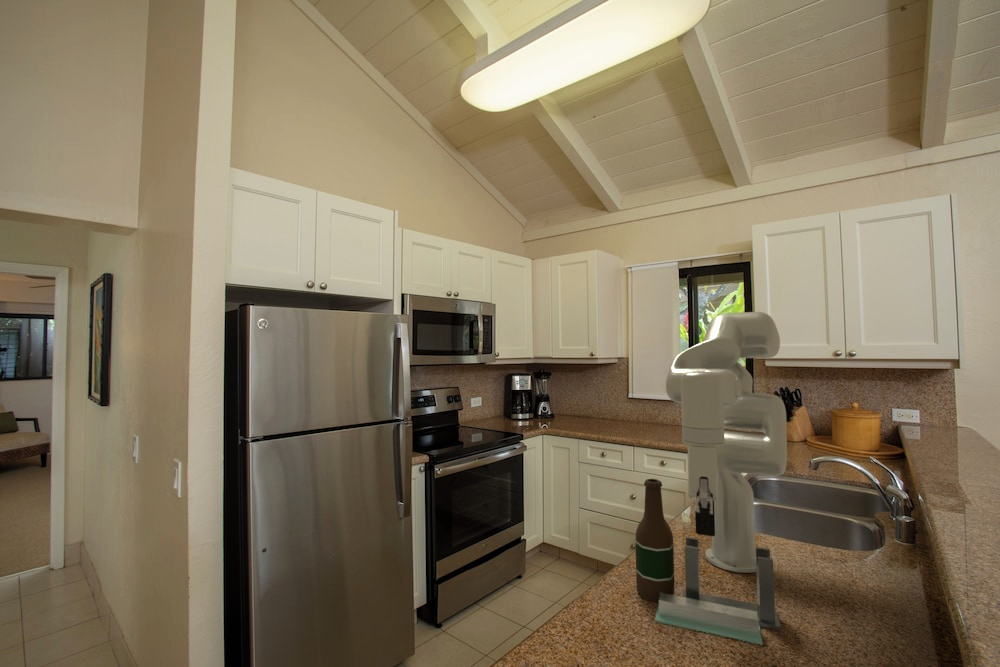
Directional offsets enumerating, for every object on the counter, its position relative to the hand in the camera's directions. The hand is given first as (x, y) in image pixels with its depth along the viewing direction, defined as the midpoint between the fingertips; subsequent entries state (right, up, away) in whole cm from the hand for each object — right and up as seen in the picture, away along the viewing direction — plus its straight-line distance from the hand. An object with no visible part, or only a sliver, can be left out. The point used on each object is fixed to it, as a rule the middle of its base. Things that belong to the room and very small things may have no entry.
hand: (705, 525), depth 88 cm
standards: (+6, -19, +3) cm, 20 cm away
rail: (0, -18, -1) cm, 18 cm away
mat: (0, -18, -1) cm, 18 cm away
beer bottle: (-6, -19, +10) cm, 22 cm away
